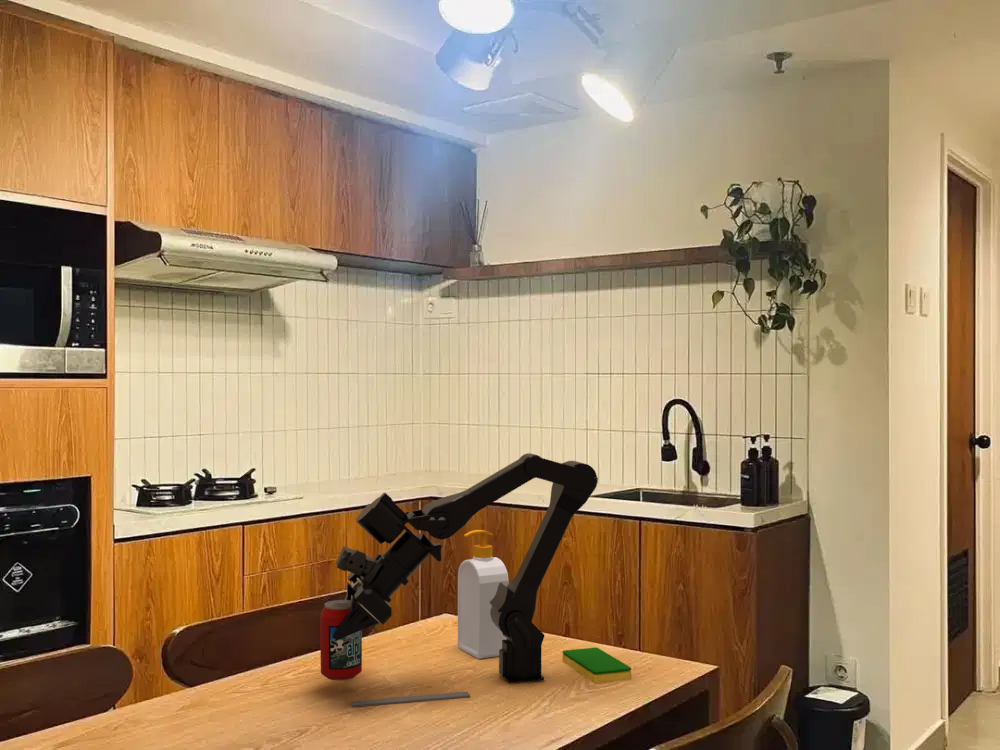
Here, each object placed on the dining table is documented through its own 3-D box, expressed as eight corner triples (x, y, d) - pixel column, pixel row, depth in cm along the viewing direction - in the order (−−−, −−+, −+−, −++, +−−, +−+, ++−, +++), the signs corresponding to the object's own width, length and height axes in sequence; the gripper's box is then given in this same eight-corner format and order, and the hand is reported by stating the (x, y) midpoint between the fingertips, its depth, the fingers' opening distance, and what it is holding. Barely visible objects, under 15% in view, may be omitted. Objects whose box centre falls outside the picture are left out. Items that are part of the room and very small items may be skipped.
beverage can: (340, 684, 155) (339, 609, 155) (312, 677, 159) (311, 604, 159) (370, 674, 160) (370, 602, 160) (342, 667, 164) (342, 597, 164)
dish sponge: (594, 686, 163) (594, 671, 163) (561, 663, 176) (561, 650, 176) (632, 681, 166) (632, 667, 166) (596, 659, 179) (597, 646, 179)
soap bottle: (453, 648, 184) (454, 528, 185) (485, 643, 188) (486, 526, 188) (475, 660, 177) (476, 535, 177) (508, 655, 180) (509, 532, 180)
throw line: (467, 693, 158) (467, 691, 158) (470, 697, 156) (470, 695, 156) (350, 703, 153) (350, 701, 153) (352, 707, 151) (352, 705, 151)
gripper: (359, 522, 170) (296, 588, 167) (370, 538, 151) (298, 613, 149) (404, 564, 171) (342, 631, 169) (420, 586, 153) (350, 661, 151)
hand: (333, 632), depth 159 cm, fingers closed on beverage can, 7 cm apart
